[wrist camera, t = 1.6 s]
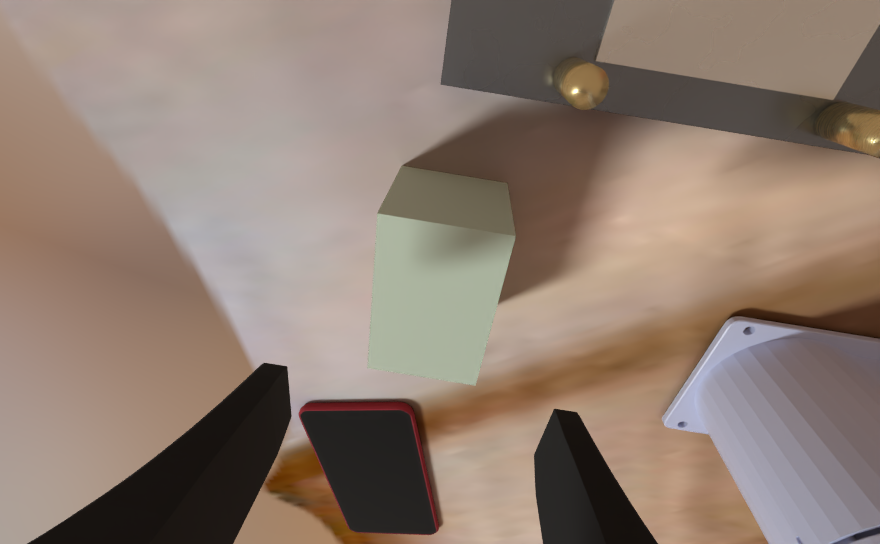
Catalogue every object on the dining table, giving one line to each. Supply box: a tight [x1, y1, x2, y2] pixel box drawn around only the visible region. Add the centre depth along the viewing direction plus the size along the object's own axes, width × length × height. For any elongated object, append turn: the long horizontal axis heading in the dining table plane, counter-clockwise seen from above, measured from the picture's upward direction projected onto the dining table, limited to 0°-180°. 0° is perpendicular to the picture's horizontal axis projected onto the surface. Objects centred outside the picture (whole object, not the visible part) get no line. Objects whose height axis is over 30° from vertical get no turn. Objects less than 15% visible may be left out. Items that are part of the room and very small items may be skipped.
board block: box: [368, 166, 516, 385], centre depth 17 cm, size 4×7×5 cm, turn 172°
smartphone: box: [299, 402, 439, 535], centre depth 29 cm, size 7×1×15 cm
